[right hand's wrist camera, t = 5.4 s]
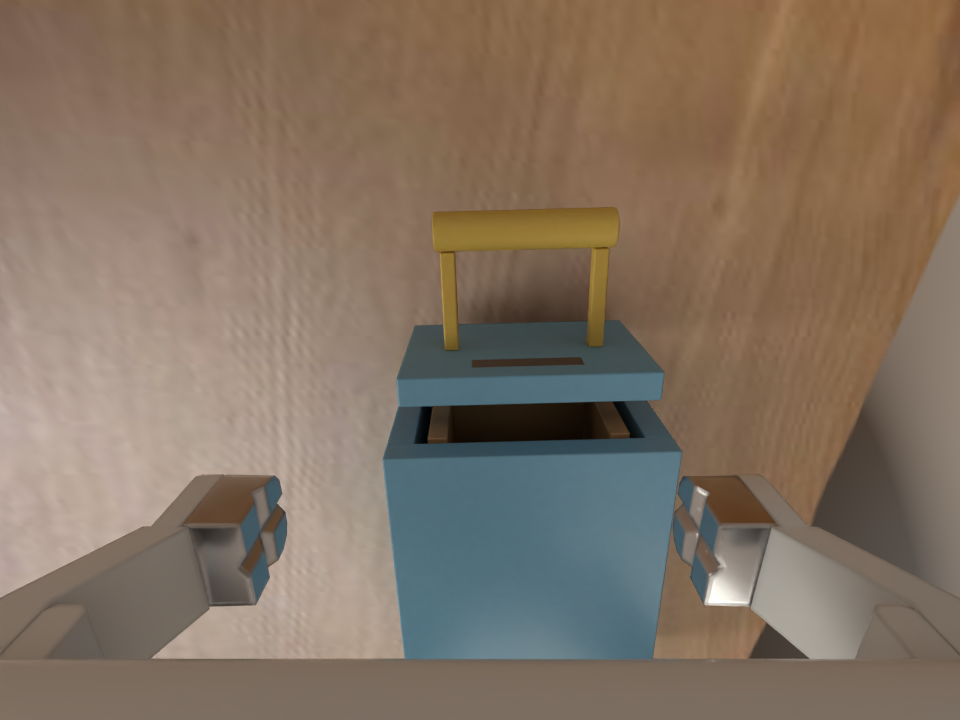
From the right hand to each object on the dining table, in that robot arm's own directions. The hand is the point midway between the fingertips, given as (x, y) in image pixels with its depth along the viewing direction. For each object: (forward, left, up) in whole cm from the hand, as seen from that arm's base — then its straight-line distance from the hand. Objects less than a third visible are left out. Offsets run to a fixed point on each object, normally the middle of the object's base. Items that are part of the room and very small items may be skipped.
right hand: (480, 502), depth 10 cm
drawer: (+8, -1, -15) cm, 17 cm away
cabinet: (+14, -3, -16) cm, 22 cm away
